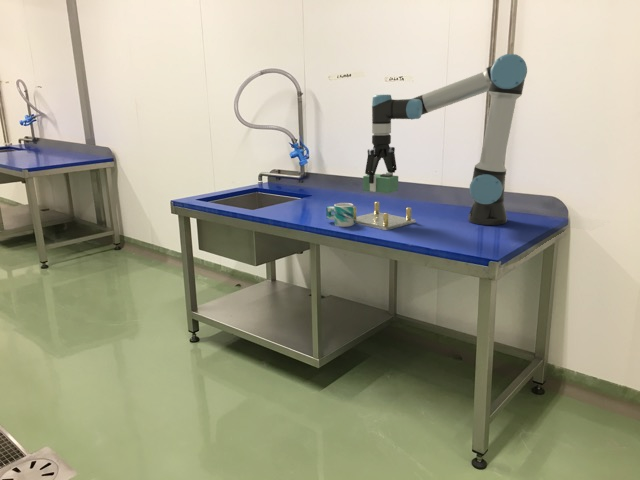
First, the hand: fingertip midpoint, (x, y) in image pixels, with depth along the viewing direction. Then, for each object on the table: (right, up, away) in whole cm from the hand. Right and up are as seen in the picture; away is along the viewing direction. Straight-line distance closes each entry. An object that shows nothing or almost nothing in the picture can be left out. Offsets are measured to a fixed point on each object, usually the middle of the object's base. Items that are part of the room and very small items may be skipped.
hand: (381, 189), depth 221 cm
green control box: (0, 0, 0) cm, 0 cm away
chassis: (0, -13, +4) cm, 14 cm away
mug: (-17, -14, +3) cm, 22 cm away
